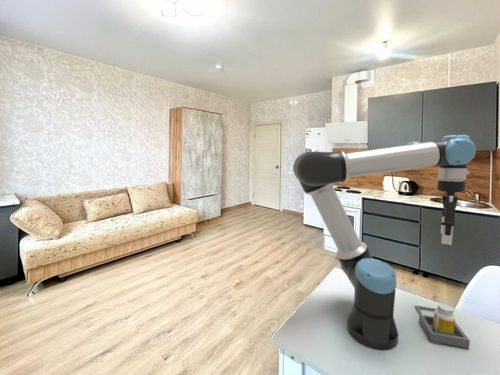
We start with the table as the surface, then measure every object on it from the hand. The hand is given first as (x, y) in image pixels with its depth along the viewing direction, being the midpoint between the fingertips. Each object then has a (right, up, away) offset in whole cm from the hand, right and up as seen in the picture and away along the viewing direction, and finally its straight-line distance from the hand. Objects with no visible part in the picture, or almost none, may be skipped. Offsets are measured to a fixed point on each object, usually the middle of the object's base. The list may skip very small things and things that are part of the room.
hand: (445, 238), depth 89 cm
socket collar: (-4, -29, +1) cm, 29 cm away
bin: (-8, -30, -8) cm, 32 cm away
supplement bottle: (-8, -30, -8) cm, 32 cm away
